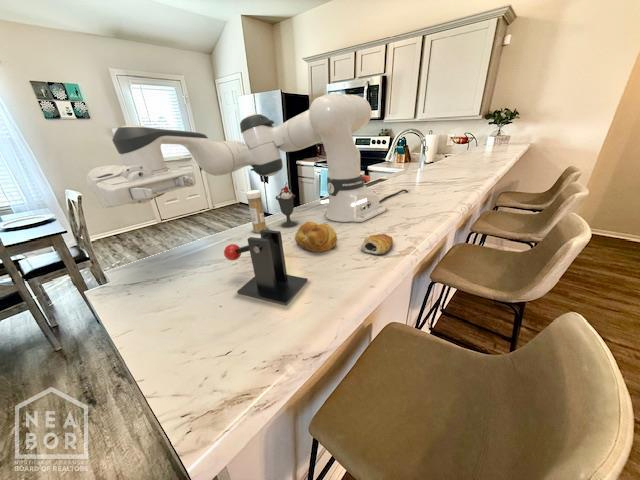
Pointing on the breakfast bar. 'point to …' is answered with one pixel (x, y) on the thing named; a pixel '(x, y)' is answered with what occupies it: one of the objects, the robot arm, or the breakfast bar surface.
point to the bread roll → (316, 237)
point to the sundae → (286, 205)
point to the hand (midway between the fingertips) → (174, 187)
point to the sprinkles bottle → (256, 210)
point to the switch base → (270, 271)
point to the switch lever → (243, 249)
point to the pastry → (377, 244)
